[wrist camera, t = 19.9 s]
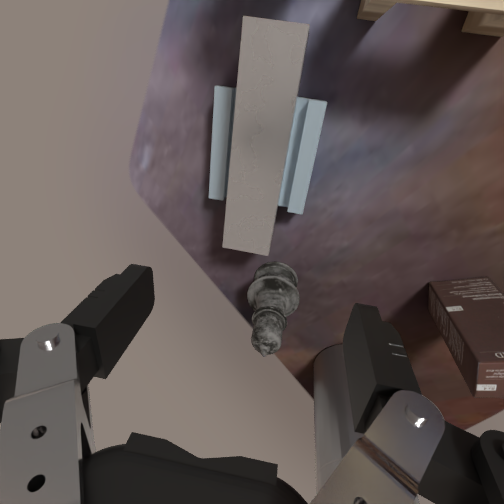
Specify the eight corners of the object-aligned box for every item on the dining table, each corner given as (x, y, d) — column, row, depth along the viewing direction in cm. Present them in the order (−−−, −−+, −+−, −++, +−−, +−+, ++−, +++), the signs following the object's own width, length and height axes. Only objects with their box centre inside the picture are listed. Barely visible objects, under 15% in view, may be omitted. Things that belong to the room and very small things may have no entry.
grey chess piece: (269, 306, 39) (256, 386, 29) (242, 273, 38) (217, 345, 27) (309, 287, 37) (310, 367, 27) (282, 251, 35) (272, 321, 25)
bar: (272, 235, 33) (268, 255, 29) (232, 228, 33) (222, 247, 30) (309, 33, 24) (309, 24, 20) (253, 26, 24) (243, 15, 21)
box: (488, 272, 33) (573, 361, 22) (483, 306, 35) (560, 402, 24) (426, 278, 34) (478, 364, 24) (425, 310, 36) (473, 402, 26)
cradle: (302, 205, 32) (302, 214, 30) (215, 190, 33) (208, 198, 31) (325, 100, 27) (327, 102, 25) (221, 85, 28) (214, 85, 26)
